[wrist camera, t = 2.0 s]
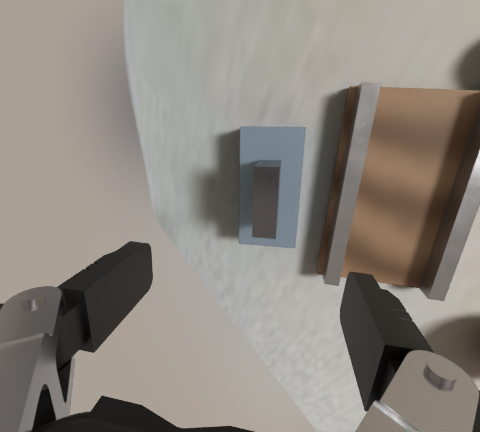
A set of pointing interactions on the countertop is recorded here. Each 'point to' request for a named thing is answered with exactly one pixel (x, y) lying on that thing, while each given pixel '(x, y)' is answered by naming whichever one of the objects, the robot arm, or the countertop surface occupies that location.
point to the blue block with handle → (270, 185)
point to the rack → (403, 186)
